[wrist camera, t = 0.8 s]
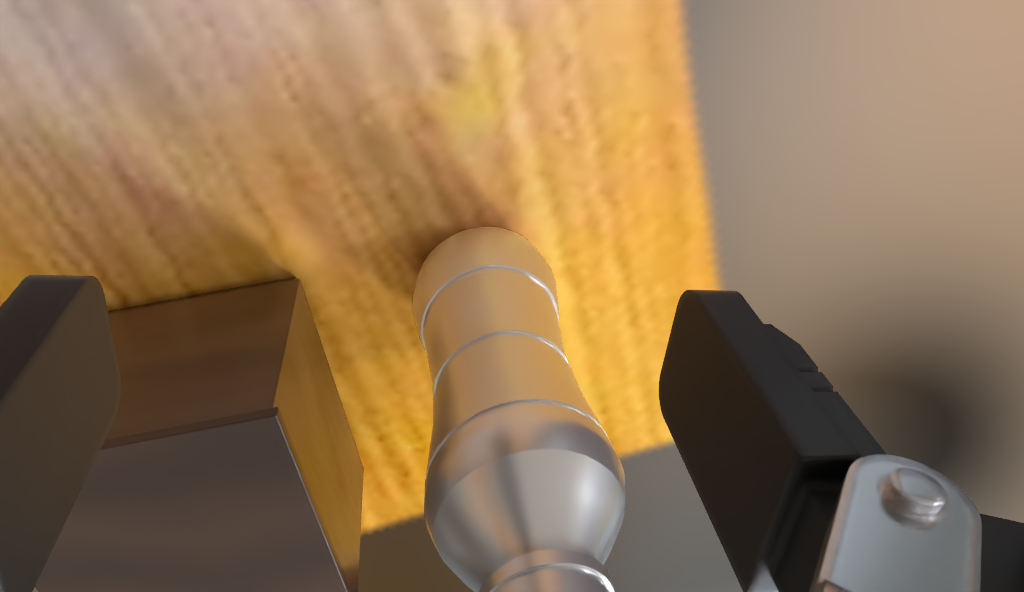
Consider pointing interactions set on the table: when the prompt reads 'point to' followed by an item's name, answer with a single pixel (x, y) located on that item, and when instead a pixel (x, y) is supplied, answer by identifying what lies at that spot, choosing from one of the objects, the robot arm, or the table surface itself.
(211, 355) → the cabinet
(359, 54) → the table surface
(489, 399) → the silver metal bottle
